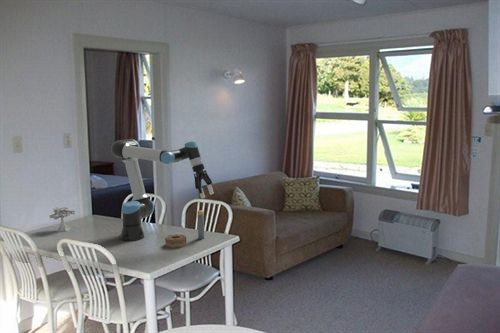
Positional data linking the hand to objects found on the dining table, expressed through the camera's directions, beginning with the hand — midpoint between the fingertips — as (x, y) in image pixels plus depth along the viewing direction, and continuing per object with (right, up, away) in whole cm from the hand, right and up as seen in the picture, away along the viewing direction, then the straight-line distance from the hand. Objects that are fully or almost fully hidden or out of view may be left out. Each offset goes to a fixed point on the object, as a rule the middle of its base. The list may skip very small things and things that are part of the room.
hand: (207, 196), depth 311 cm
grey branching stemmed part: (-104, -26, +29) cm, 111 cm away
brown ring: (-19, -30, -10) cm, 37 cm away
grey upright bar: (-5, -28, +4) cm, 28 cm away
